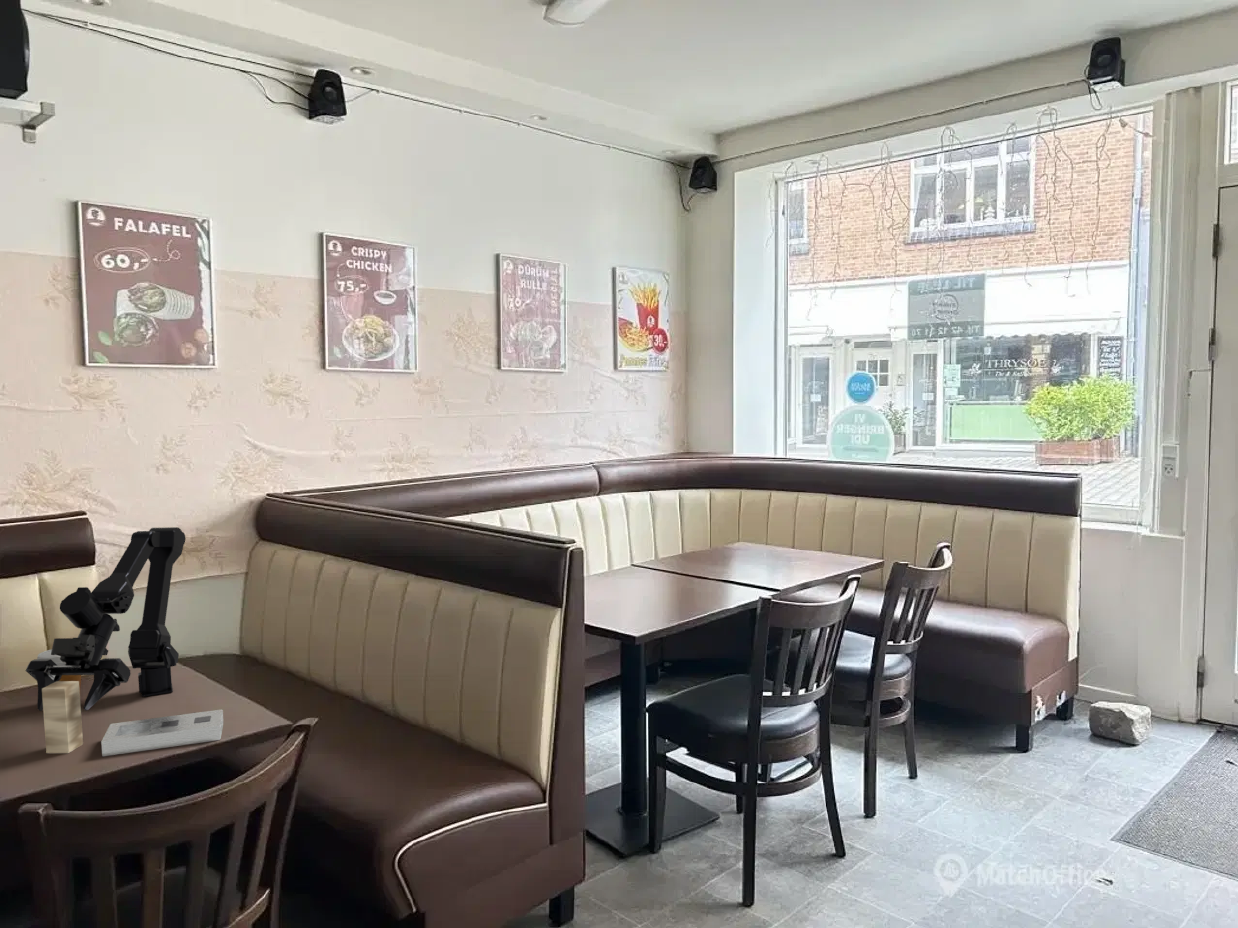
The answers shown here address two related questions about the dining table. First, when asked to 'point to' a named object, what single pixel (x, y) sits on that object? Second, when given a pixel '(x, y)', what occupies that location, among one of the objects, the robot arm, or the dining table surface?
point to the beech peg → (62, 716)
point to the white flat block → (162, 732)
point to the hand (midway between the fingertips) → (62, 709)
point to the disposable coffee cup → (57, 660)
